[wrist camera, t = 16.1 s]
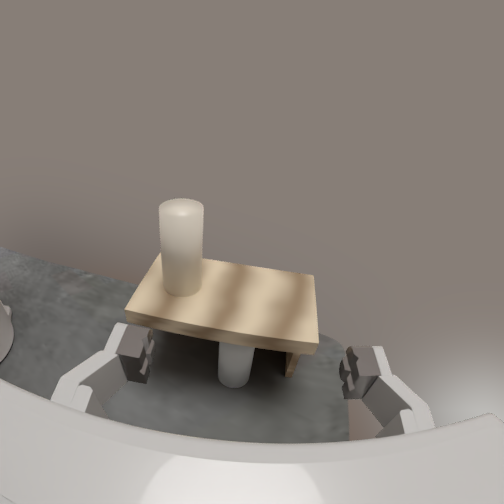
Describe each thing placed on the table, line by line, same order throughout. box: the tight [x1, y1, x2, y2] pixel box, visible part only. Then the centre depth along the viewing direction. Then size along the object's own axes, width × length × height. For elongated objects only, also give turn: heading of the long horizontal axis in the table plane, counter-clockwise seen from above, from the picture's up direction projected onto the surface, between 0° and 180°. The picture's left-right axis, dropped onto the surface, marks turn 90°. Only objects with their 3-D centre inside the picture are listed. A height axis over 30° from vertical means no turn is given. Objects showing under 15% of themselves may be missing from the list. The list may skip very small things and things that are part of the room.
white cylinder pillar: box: [218, 342, 255, 388], centre depth 39 cm, size 5×5×10 cm
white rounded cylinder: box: [159, 198, 204, 297], centre depth 33 cm, size 5×5×10 cm
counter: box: [125, 252, 319, 378], centre depth 39 cm, size 21×12×14 cm, turn 84°
